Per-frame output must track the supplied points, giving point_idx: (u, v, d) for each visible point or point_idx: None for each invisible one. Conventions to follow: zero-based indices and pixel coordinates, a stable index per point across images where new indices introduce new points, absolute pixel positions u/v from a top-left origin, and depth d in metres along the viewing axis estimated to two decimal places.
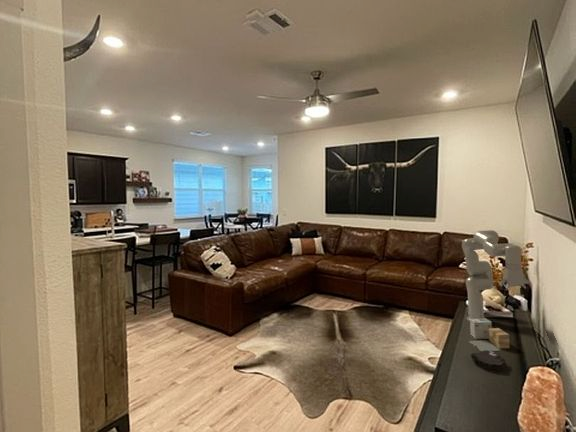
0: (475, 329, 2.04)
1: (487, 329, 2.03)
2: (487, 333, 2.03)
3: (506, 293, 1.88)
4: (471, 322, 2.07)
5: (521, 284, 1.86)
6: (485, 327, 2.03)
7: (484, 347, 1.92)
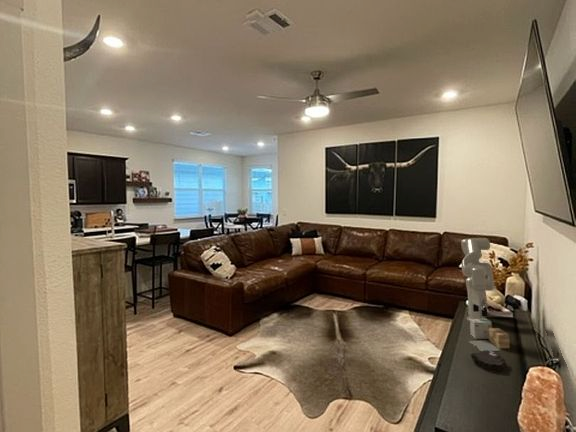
0: (475, 329, 2.04)
1: (487, 329, 2.03)
2: (487, 333, 2.03)
3: (486, 313, 2.00)
4: (471, 322, 2.07)
5: None
6: (485, 327, 2.03)
7: (484, 347, 1.92)
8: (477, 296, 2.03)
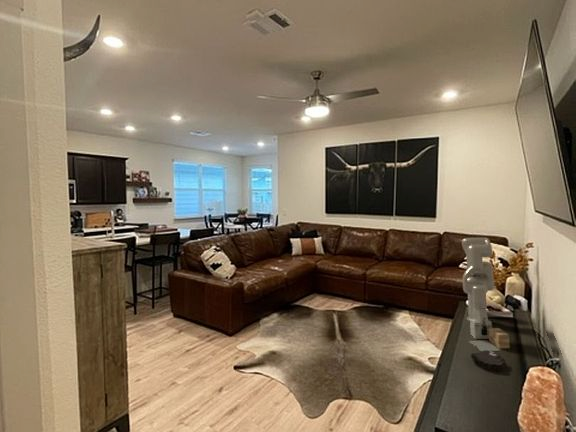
0: (475, 329, 2.04)
1: (487, 329, 2.03)
2: (487, 333, 2.03)
3: (486, 332, 2.02)
4: (471, 322, 2.07)
5: None
6: None
7: (484, 347, 1.92)
8: (478, 314, 2.03)
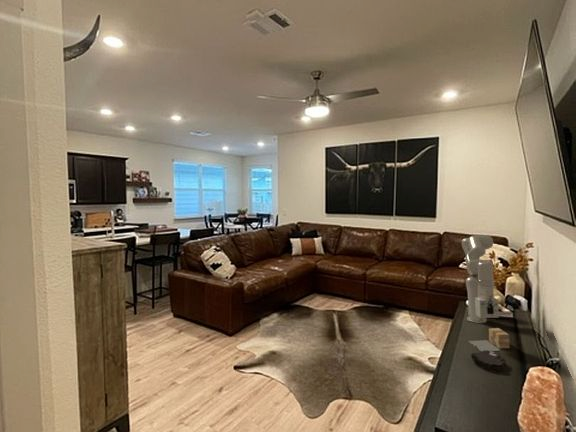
0: (480, 307, 1.92)
1: (494, 307, 1.91)
2: None
3: (492, 310, 1.90)
4: (476, 300, 1.96)
5: None
6: None
7: (484, 347, 1.92)
8: (484, 292, 1.92)
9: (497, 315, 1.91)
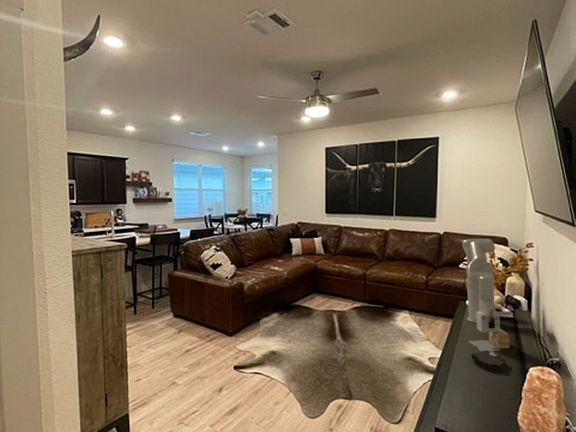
0: (481, 322, 1.92)
1: (495, 322, 1.91)
2: (495, 326, 1.91)
3: (493, 325, 1.90)
4: (477, 314, 1.95)
5: None
6: None
7: (484, 347, 1.92)
8: (485, 306, 1.91)
9: (498, 329, 1.91)
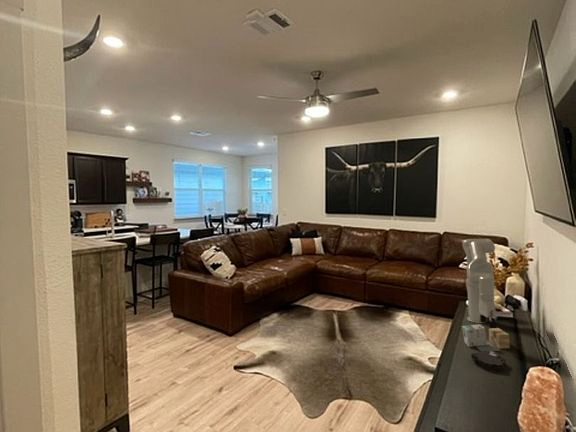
0: (476, 345, 1.93)
1: (475, 333, 1.93)
2: (479, 333, 1.93)
3: (494, 325, 1.89)
4: None
5: None
6: (473, 335, 1.93)
7: (484, 347, 1.92)
8: (485, 307, 1.91)
9: (482, 329, 1.92)
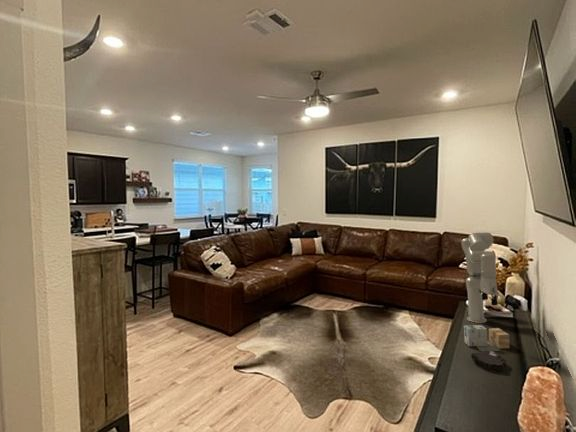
0: (476, 345, 1.93)
1: (476, 333, 1.93)
2: (481, 333, 1.92)
3: (496, 302, 1.89)
4: None
5: None
6: (474, 335, 1.93)
7: (484, 347, 1.92)
8: (487, 284, 1.91)
9: (484, 330, 1.92)
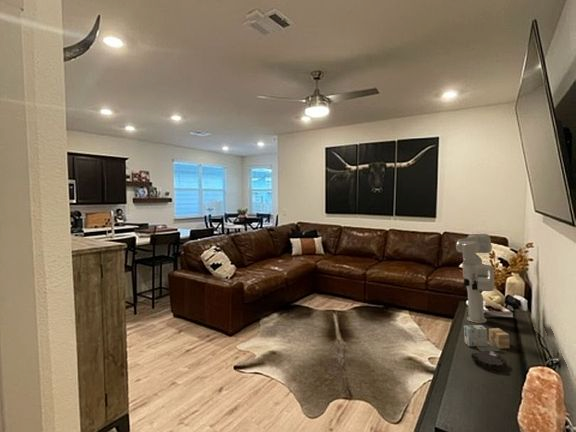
0: (476, 345, 1.93)
1: (476, 333, 1.93)
2: (481, 333, 1.93)
3: (476, 286, 2.06)
4: None
5: None
6: (474, 335, 1.93)
7: (484, 347, 1.92)
8: (468, 270, 2.08)
9: (484, 330, 1.92)
